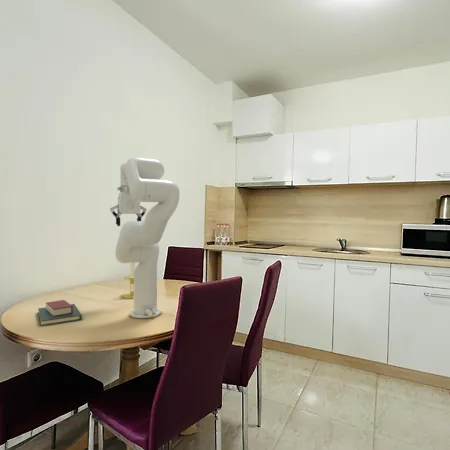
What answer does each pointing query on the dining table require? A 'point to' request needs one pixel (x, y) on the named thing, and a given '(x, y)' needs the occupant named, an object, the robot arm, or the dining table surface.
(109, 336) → the dining table surface
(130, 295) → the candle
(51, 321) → the green book
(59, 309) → the burgundy book
